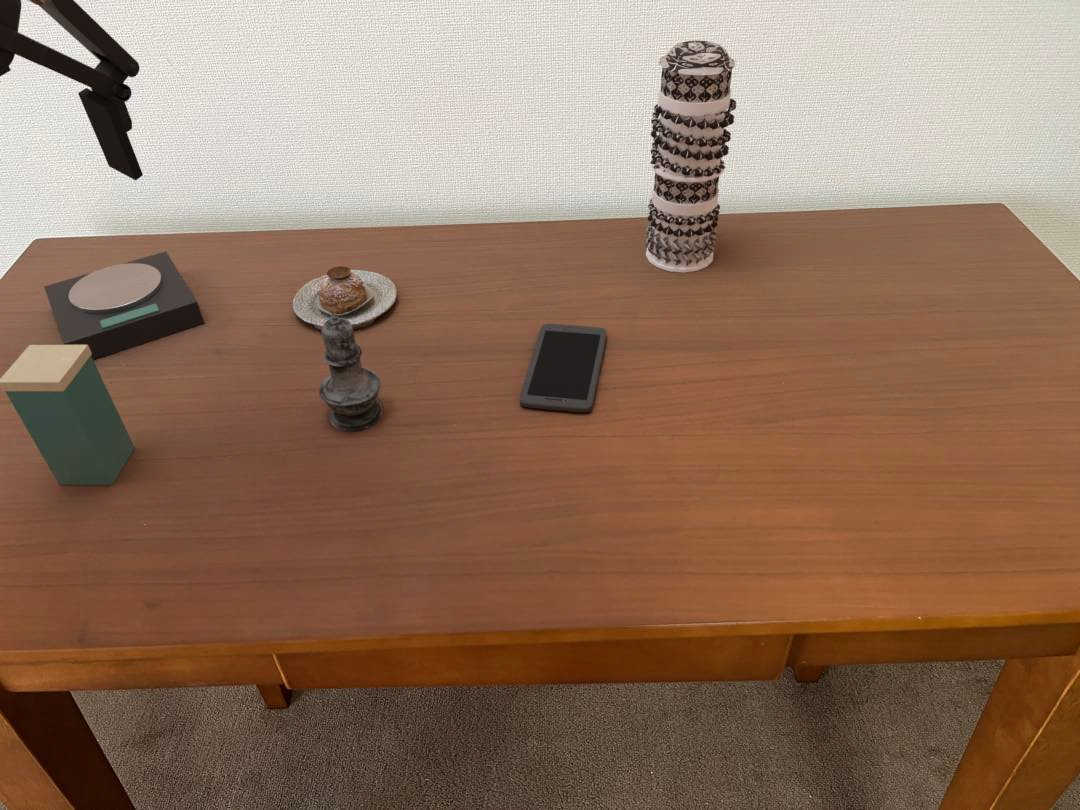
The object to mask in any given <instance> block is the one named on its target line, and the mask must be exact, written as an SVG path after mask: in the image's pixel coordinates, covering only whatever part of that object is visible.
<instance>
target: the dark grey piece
mask: <svg viewBox="0 0 1080 810" xmlns="http://www.w3.org/2000/svg"><path fill="white" fill-rule="evenodd" d="M330 318H331V319H329V320H327V321H326V322H325V323H324V325H323V326H322V330H321V336H322V340H323V344H324V349H325V351H324V353H323V356H322V357H323V361H324V362H325V364H327V365H328V368H329V372H330V374H328V376H326V377H325V378H324V379H323V380H322V382H321V383H320V385H319V389H318V393H319V396H320V398H321V400H323V402H325V404H326V405H327V406H328V408H330V411H329V415H328V419H329V423H330V424H331V425H332V426H333V427H334V428H335V429H336V430H339V431H341V432H349V433H350V432H351V433H353V432H360V431H364V430H367V429H369V428H371V427H373V426H374V425H376V424H377V423H378V422H379V421H380V420H381V418H382V417H383V413H384V409H383V404H382V403H381V402H380V401H379V400H378V396H379V393H380V392H379V391H380V389H381V385H382V383H381V378H380V376H379V375H378V374H377V373H376V372H375V371H373V369H369V368H366V367H363V366H362V362H361V358H362V355H363V351H362V348H361V347H360V346H359V345H358V344H357V341H356V338H355V333H354V329H353V328H352V325H351V323H350V322H349V321H348V320H346V319H344V318H340V317H338V315H337V314H335V313H334V312H333V313H332V314H331V316H330Z"/></svg>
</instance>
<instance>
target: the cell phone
mask: <svg viewBox="0 0 1080 810" xmlns="http://www.w3.org/2000/svg"><path fill="white" fill-rule="evenodd" d="M606 342H607V329H606V328H604V327H599V326H588V325H587V326H586V325H575V324H574V325H572V324H563V323H562V324H561V323H544V324H541V326H540V329H539V332H538V336H537V339H536V341H535V344H534V348H533V351H532V354H531V358H530V361H529V365H528V368H527V371H526V375H525V378H524V381H523V384H522V388H521V391H520V395H519V405H520V406H522V407H524V408H529V409H539V410H550V411H560V412H572V413H582V414H583V413H590V412H591V411H592V410H593V406H594V402H595V399H596V393H597V389H598V383H599V378H600V373H601V369H602V363H603V358H604V357H603V356H604V352H605V347H606Z"/></svg>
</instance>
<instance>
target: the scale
mask: <svg viewBox="0 0 1080 810" xmlns="http://www.w3.org/2000/svg"><path fill="white" fill-rule="evenodd" d="M128 263H139V264H146V265H150V266H153V267H154V268H156V269H157V270H158V271H159V272H160V274H161V277H162V285H161V287H160V289H159V290H158V291H157V293H156V294H154V295H153V296H152V297H151V298H149V299H148V300H146V301H144V302H143V303H141V304H139V305H136V306H134V307H131V308H128V309H125V310H122V311H117V312H112V313H104V314H92V313H85V312H81V311H79V310H77V309H75V308H74V307H73V306H72V304H71V303H70V300H69V292H70V290H71V288H72V287H73V286H74V284H75V283H77V282H78V281H79V280H80V279H82V278H83V277H85V276H87V275H89V274H90V273H93V272H94V271H92V272H89V273H85V274H81V275H79V276H74V277H72V278H68V279H65V280H61V281H58V282H55V283H51V284H48V285H44V287H43V288H44V290H45V294H46V296H47V299H48V302H49V304H50V305H49V306H50V307H51V310H52V314H53V316H54V319H55V322H56V325H57V327H58V330H59V333H60V336H61V340H62V342H63V345H88V346H89V348H90V350H91V352H92V355H91V357H92V359H93V361H95V360H98V359H100V358H103V357H106V356H109V355H112V354H115V353H118V352H121V351H124V350H127V349H131V348H133V347H137V346H139V345H143V344H145V343H149V342H151V341H154V340H157V339H161V338H163V337H167V336H170V335H172V334H176V333H179V332H182V331H186V330H189V329H191V328H195V327H197V326H200V325H203V324H205V319H204V317H203V315H202V312H201V309H200V306H199V302H198V300H197V299H196V298H195V296H194V294H193V293H192V291H191V289H190V287H189V286H188V284H187V283H186V281H185V280H184V278H183V276H182V274H181V273H180V271H179V270H178V268H177V266H176V265H175V263H174V261H173V260H172V258H171V257H170V255H169V254H168V252H167V250H166V251H161V252H157V253H154V254H151V255H148V256H145V257H140V258H138V259H134V260H131V261H130V260H129V261H126V262H123V263H122V264H128Z"/></svg>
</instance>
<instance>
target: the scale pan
mask: <svg viewBox="0 0 1080 810" xmlns="http://www.w3.org/2000/svg"><path fill="white" fill-rule="evenodd" d="M92 272H93V273H92ZM92 272H89V273H90V274H89V273H88V274H89V275H87V276H85V277H83V278H82V279H80V280H79V281H78V282H77V283H75V284H74V286H73V287H72V288H71V290H70V292H69V300H70V303H71V304H72V306H73V307H74V308H75V309H77V310H79V311H81V312H85V313H92V314H104V313H112V312H117V311H122V310H125V309H128V308H131V307H134V306H136V305H139V304H141V303H143V302H144V301H146V300H148V299H149V298H151V297H152V296H153V295H154V294H156V293H157V291H158V290H159V289H160V287H161V285H162V277H161V274H160V272H159V271H158V270H157V269H156V268H154V267H153V266H150V265H146V264H139V263H128V264H123V263H120V264H114V265H111V266H105V267H104V268H100V269H98V270H94V271H92Z"/></svg>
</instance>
